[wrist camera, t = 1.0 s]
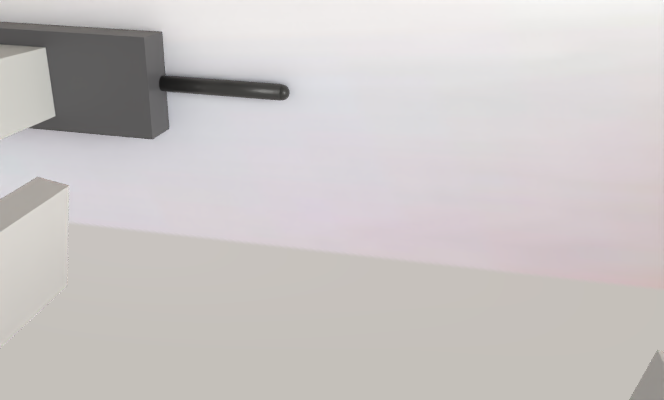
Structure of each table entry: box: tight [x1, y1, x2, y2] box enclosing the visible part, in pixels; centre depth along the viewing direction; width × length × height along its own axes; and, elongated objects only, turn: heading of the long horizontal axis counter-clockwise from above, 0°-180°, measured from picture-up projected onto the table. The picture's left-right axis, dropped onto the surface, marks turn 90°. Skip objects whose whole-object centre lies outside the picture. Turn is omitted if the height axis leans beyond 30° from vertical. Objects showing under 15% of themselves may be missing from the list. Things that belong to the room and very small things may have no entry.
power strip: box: [0, 22, 289, 139], centre depth 40 cm, size 32×6×3 cm, turn 88°
